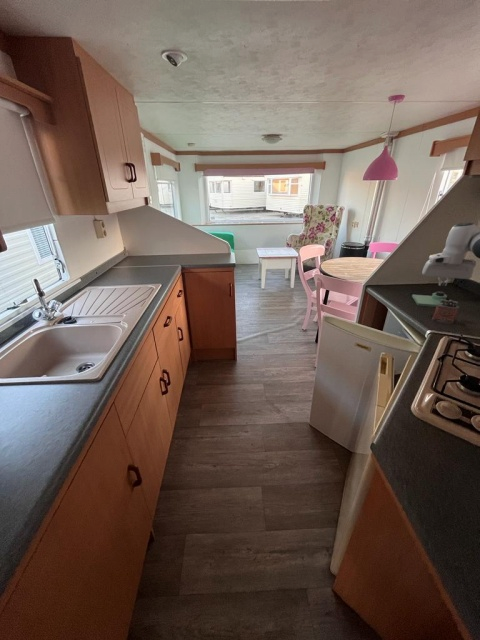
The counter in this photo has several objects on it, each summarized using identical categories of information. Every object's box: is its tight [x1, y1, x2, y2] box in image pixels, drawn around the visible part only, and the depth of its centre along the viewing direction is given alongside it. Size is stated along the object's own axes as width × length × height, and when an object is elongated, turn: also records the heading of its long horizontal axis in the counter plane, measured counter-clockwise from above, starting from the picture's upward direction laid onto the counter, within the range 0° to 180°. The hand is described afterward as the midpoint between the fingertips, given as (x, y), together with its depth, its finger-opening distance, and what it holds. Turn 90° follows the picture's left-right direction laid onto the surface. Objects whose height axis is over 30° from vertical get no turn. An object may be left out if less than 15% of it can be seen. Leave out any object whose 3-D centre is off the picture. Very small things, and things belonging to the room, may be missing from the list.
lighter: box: [431, 299, 460, 324], centre depth 115 cm, size 8×3×10 cm, turn 65°
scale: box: [411, 292, 448, 308], centre depth 135 cm, size 14×12×3 cm
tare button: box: [435, 290, 445, 296], centre depth 136 cm, size 3×3×2 cm
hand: (442, 285), depth 134 cm, fingers closed
